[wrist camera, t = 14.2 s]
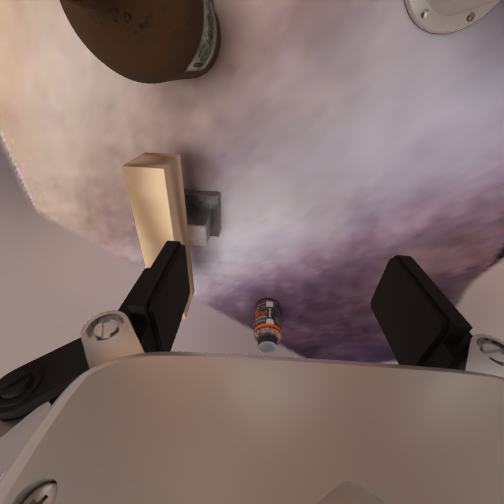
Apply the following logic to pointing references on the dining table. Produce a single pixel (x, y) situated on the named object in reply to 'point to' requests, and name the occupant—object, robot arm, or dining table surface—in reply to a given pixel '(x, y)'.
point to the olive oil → (148, 36)
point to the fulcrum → (202, 216)
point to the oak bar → (158, 205)
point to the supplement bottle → (267, 325)
